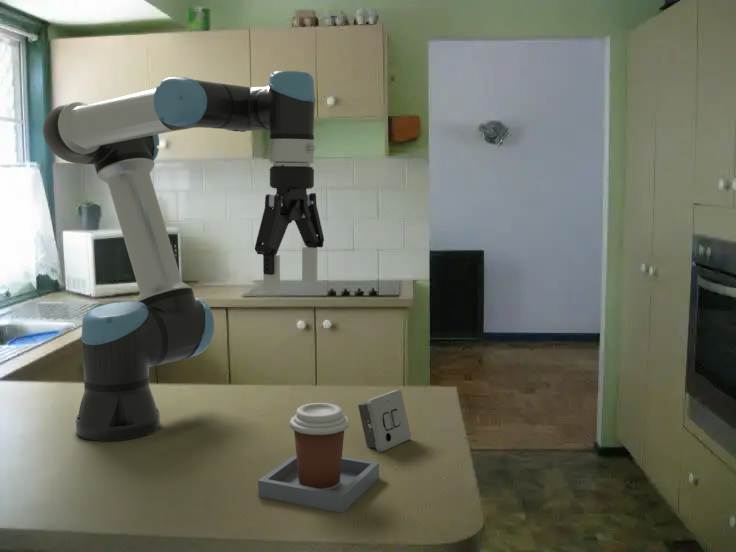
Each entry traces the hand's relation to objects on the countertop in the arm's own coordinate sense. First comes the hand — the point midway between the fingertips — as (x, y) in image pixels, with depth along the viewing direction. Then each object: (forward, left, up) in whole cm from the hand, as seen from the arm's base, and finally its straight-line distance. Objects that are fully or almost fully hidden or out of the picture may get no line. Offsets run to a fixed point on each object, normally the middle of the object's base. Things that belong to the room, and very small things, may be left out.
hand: (291, 288), depth 133 cm
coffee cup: (+13, -15, -28) cm, 34 cm away
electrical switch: (+15, +7, -29) cm, 33 cm away
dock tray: (+13, -15, -28) cm, 34 cm away
